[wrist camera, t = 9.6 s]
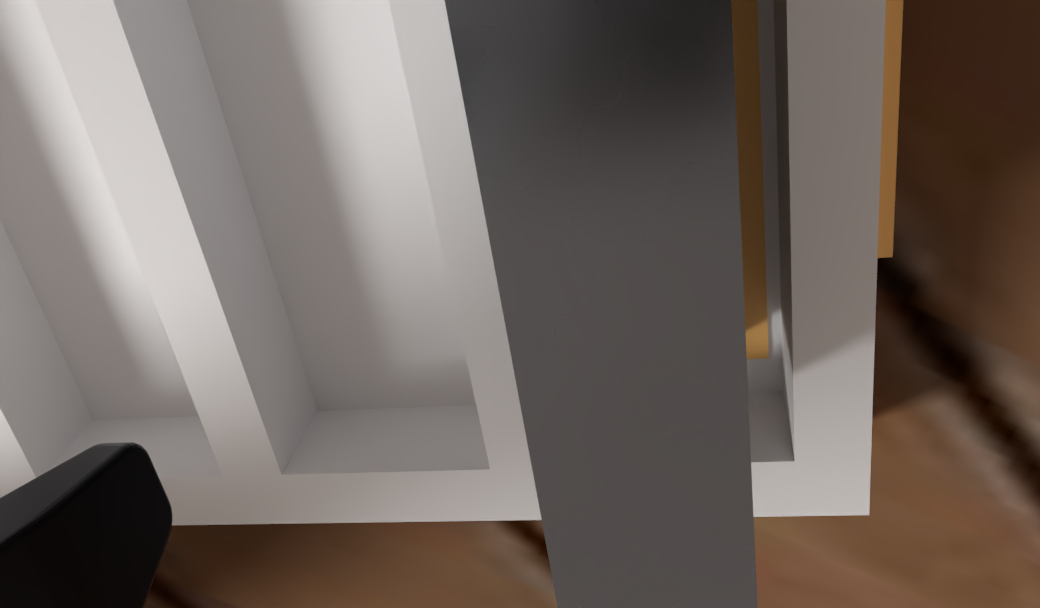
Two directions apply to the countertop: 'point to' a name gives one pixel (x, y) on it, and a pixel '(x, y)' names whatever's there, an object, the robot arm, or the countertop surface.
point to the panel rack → (382, 255)
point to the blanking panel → (620, 285)
